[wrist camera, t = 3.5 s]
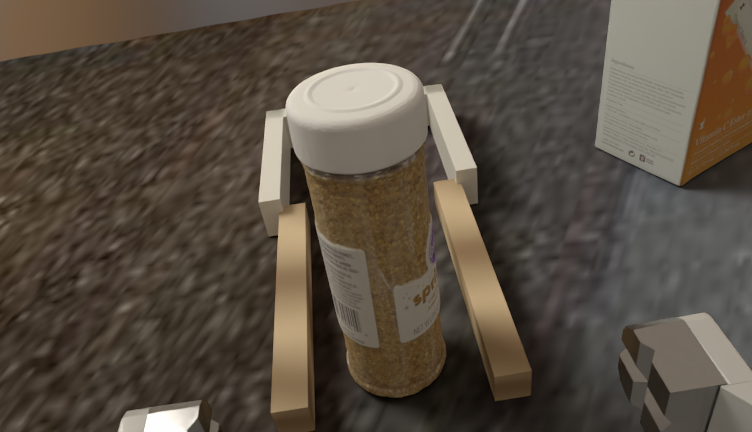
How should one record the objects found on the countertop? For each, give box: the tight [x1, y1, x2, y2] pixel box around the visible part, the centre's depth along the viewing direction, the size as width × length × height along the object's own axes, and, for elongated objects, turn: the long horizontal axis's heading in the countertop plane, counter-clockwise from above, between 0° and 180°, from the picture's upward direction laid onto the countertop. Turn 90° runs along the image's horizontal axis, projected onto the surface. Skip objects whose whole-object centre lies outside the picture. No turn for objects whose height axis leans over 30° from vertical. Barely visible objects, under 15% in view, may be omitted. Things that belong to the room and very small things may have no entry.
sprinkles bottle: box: [286, 63, 446, 398], centre depth 24 cm, size 5×5×14 cm
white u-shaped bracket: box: [258, 84, 478, 237], centre depth 40 cm, size 11×12×2 cm
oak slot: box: [271, 179, 532, 432], centre depth 31 cm, size 14×10×2 cm
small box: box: [595, 0, 752, 186], centre depth 35 cm, size 8×6×13 cm
